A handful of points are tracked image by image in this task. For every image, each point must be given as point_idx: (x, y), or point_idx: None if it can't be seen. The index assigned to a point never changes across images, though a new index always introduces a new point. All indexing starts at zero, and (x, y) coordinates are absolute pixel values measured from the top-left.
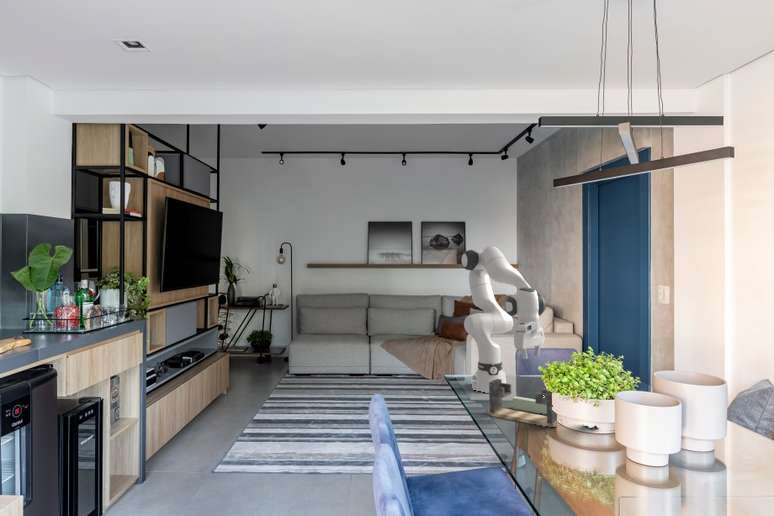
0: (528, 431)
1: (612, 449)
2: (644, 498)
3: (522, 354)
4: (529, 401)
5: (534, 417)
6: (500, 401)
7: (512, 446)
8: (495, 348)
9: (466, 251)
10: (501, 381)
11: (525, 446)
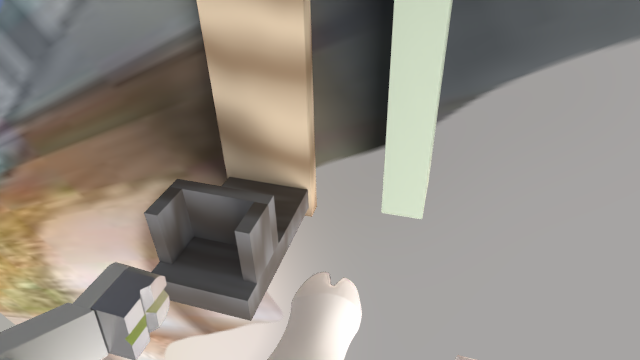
0: (144, 120)
1: (199, 323)
2: None
3: (59, 308)
4: (391, 52)
5: (257, 114)
6: None
7: (8, 115)
8: None
9: None
10: None
11: (41, 149)
